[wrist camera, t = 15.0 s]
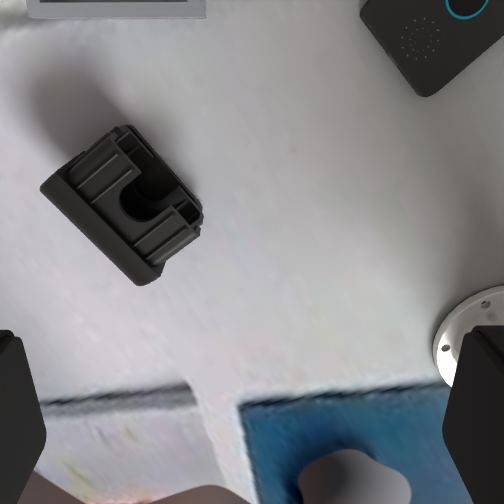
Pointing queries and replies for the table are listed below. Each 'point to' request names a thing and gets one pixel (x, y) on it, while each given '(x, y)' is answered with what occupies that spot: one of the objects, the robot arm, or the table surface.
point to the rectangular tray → (116, 9)
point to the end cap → (127, 203)
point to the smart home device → (434, 36)
